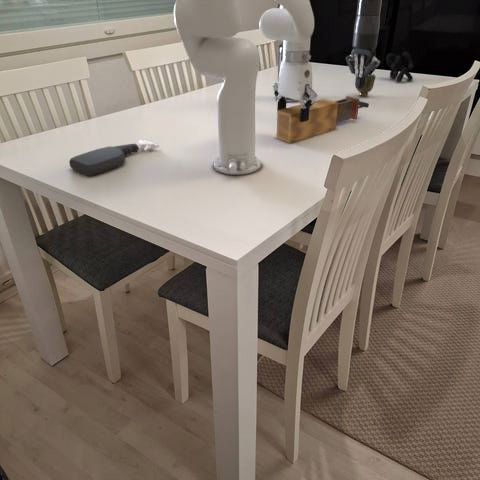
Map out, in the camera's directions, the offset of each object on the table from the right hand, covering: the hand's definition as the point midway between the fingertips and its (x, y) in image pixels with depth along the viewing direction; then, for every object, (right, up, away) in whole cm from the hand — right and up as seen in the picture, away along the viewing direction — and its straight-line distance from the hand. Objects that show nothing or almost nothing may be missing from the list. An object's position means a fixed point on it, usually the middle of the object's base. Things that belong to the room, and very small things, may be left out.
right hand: (359, 88), depth 148 cm
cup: (+10, +7, +30) cm, 32 cm away
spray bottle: (-74, -28, -23) cm, 82 cm away
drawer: (-7, -11, 0) cm, 13 cm away
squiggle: (+32, +21, +52) cm, 65 cm away
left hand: (-24, -14, -14) cm, 31 cm away
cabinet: (-19, -17, -7) cm, 26 cm away
